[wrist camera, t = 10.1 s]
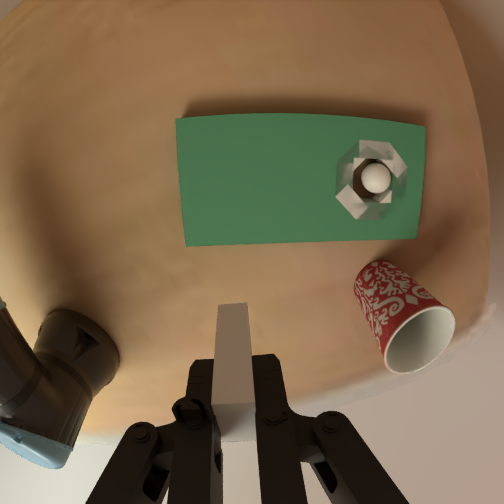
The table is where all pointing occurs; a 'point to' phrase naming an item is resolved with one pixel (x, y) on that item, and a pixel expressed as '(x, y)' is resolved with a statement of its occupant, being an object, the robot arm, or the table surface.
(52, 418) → the robot arm
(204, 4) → the table surface
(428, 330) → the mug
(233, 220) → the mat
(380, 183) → the ball
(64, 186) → the table surface
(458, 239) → the table surface
